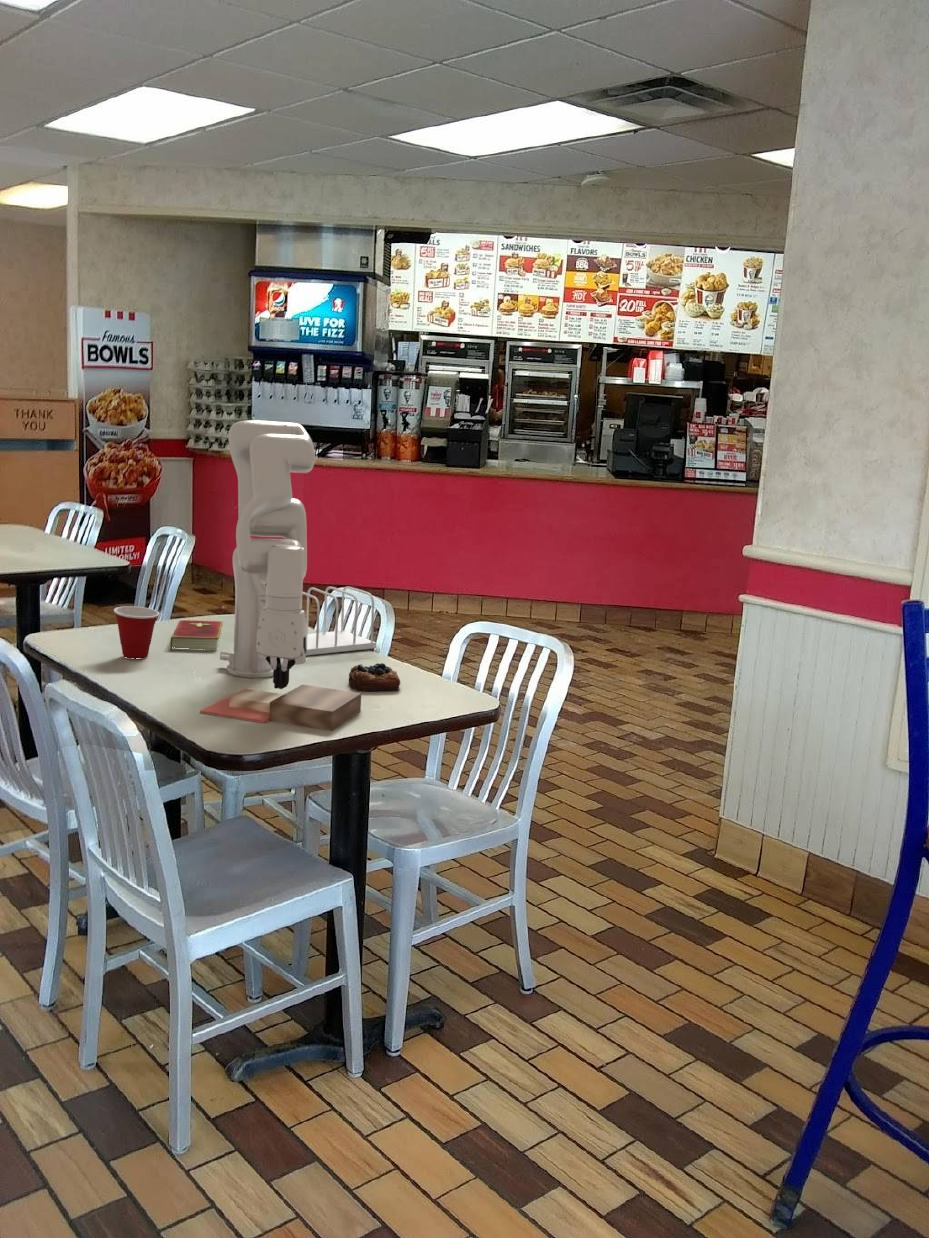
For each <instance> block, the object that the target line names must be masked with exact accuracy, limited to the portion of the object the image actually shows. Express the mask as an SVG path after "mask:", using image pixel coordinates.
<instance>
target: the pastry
mask: <svg viewBox="0 0 929 1238" xmlns="http://www.w3.org/2000/svg"><path fill="white" fill-rule="evenodd" d="M348 683H349V685H350V687H351V688H353V690H355V691H356V692H358V693H361V692H363V693H364V692H366V693H367V692H368V693H370V692H371V693H373V692H374V693H375V692H379V691H380V692H398V691H399V688H400V685H401V683H402V682H401V678H400V677H399V675H398V673H397V671H396V670H393V669H392V668H391V666H387V665H386V663H383V662H380V663H378V662H377V663H375V664H374V665H369V666H367V665H365V666H364V665H363V664H362V663H361V664H358V665H354V666H353V667H351V669H350V672H349V673H348Z"/></svg>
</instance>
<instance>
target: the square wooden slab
mask: <svg viewBox="0 0 929 1238" xmlns="http://www.w3.org/2000/svg"><path fill="white" fill-rule="evenodd" d="M361 708H362V693H361V692H357V691H348V690H343V689H342V690H341V689H335V688H329V687H323V686H322V687H321V686H315V685H308V684H300V685H299V686H297V687H295V688H294V689H291V690H289V691H287V692H286V693H284V695H282V696H280V697H278V698H276V699H274V700H273V701H271V702H270V712H269V721H271V722H276V723H282V722H283V723H282V724H288V723H289V725H293V726H294V725H295V726H300V727H301V726H302V727H308V728H312V729H313V728H314V729H320V730H327V731H333V730H335V729H336V728H337V727H339V726H340V725H342V724H343V723H345V722H346V721H348V720H350V719H351V718H352V717H354V716H355V715H357V714H359V713H360V712H361V711H362V710H361ZM356 713H357V714H356ZM353 715H354V716H353ZM269 721H268V722H269Z"/></svg>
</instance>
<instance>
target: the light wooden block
mask: <svg viewBox="0 0 929 1238" xmlns="http://www.w3.org/2000/svg"><path fill="white" fill-rule="evenodd" d="M244 689H245V690H243V689H242V690H243V691H241V690H240V691H241V692H240V693H238V694H236V695H234V696H232V697H230V703H229V707H235V708H242V709H249V710H255V711H262V712H270V702H271V701H273V700H274V699H276V698H278V697H280V696H282V695H284V694H285V693H284V694H283V693H277V692H270V691H264V690H258V689H252V690H251V689H250V688H244Z"/></svg>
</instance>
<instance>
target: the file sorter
mask: <svg viewBox="0 0 929 1238" xmlns="http://www.w3.org/2000/svg"><path fill="white" fill-rule="evenodd" d="M346 589H347V590H351V591H355V592H358V593H361V594H364V595H368V596H369V598H370V600H371V619H370V639H369V638H365V637H363V636H360V635H357V624H358V623H357V622H358V612H359V611H358V609H359V607H358V606H359V602H358V598H357V597H356V595H355V594H354V593H352V592H349V591H346ZM312 590H313V591H315V592H318V593H320V594H323V595H324V609H323V632H320V614H321V613H320V612H321V609H320V602H319V599H318V598H317V597H316V596H315V595H312V594H311V591H312ZM329 590H332V591H336V592H339V593H341V614H340V615H341V620H340V621H341V623H340V624H341V625H340V630H338V628H339V627H338V626H339V609H340V608H339V602H338V598H337V597H336V595H334V594H332V593H330V592H329ZM345 595H347V596H351V597H353V599H354V603H355V604H354V605H355V608H354V622H353V623H354V625H353V633H352V632H349V631H346V630H344V624H345V623H344V621H345V620H344V617H345V613H344V612H345ZM302 596H306V609H305V618H306V625H307V652H306V654H305V657H307V656H314V655H323V654H333V653H340V652H351V651H361V650H374V649H377V642H376V641H374V623H375V622H374V620H375V599H374V596H373V595H372V593H370V592H368V591H365V590H363V589H360V588H359V589H358V588H356V587H353V586H345V587H343V588H342V589H340V588H337V587H334V586H327V587H326V589H325V591H324V590H321V589H318V588H317V587H309V588H308V590H307V592H305V591H302ZM328 597H330V598H332V599H334V601H335V627H334V629H335V630H334V631H327V610H328V609H327V606H328V604H327V603H328ZM310 598H311V599H314V600H315V603H316V608H317V609H316V632H314V633H309V615H310V614H309V613H310V609H309V608H310Z"/></svg>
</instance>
